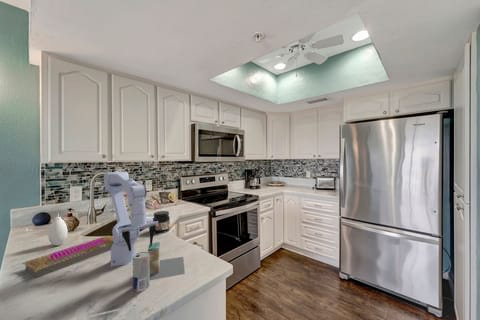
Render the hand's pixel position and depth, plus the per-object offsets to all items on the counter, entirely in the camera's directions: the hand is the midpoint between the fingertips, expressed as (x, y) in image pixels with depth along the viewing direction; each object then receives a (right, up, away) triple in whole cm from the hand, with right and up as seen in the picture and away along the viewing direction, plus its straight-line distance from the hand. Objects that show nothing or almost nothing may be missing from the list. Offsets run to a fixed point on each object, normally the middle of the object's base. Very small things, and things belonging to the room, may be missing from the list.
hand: (140, 247), depth 80 cm
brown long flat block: (-38, -12, +16) cm, 43 cm away
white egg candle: (-61, -12, +29) cm, 69 cm away
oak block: (+5, -10, +2) cm, 11 cm away
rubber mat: (+7, -11, +3) cm, 13 cm away
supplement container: (-12, -12, +51) cm, 54 cm away
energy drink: (+5, -11, -9) cm, 15 cm away
